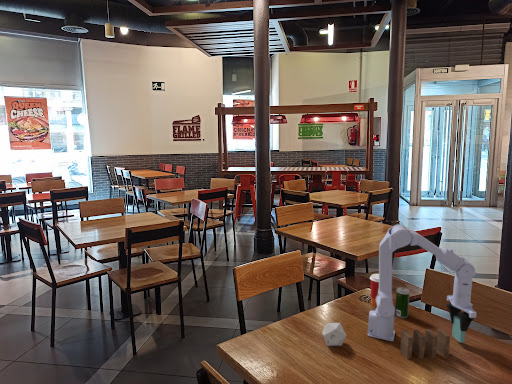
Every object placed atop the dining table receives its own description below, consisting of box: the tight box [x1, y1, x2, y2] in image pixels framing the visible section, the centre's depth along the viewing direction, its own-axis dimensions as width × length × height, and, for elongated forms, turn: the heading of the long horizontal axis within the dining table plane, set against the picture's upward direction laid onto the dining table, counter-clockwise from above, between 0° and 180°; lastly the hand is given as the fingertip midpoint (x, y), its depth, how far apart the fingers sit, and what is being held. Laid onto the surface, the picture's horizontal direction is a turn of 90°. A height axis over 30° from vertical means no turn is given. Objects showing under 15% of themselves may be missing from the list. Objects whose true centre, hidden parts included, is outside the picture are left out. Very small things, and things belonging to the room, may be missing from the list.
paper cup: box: [369, 273, 379, 309], centre depth 167 cm, size 8×8×14 cm
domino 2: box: [412, 329, 425, 359], centre depth 129 cm, size 2×5×8 cm, turn 4°
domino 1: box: [400, 329, 413, 360], centre depth 129 cm, size 2×5×8 cm, turn 4°
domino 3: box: [424, 328, 438, 359], centre depth 129 cm, size 2×5×8 cm, turn 4°
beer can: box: [394, 286, 410, 319], centre depth 157 cm, size 5×5×12 cm
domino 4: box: [436, 328, 451, 358], centre depth 129 cm, size 2×5×8 cm, turn 4°
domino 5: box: [451, 316, 466, 344], centre depth 135 cm, size 2×5×8 cm, turn 4°
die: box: [321, 322, 347, 347], centre depth 136 cm, size 8×9×10 cm
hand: (459, 326), depth 135 cm, fingers closed on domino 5, 5 cm apart
